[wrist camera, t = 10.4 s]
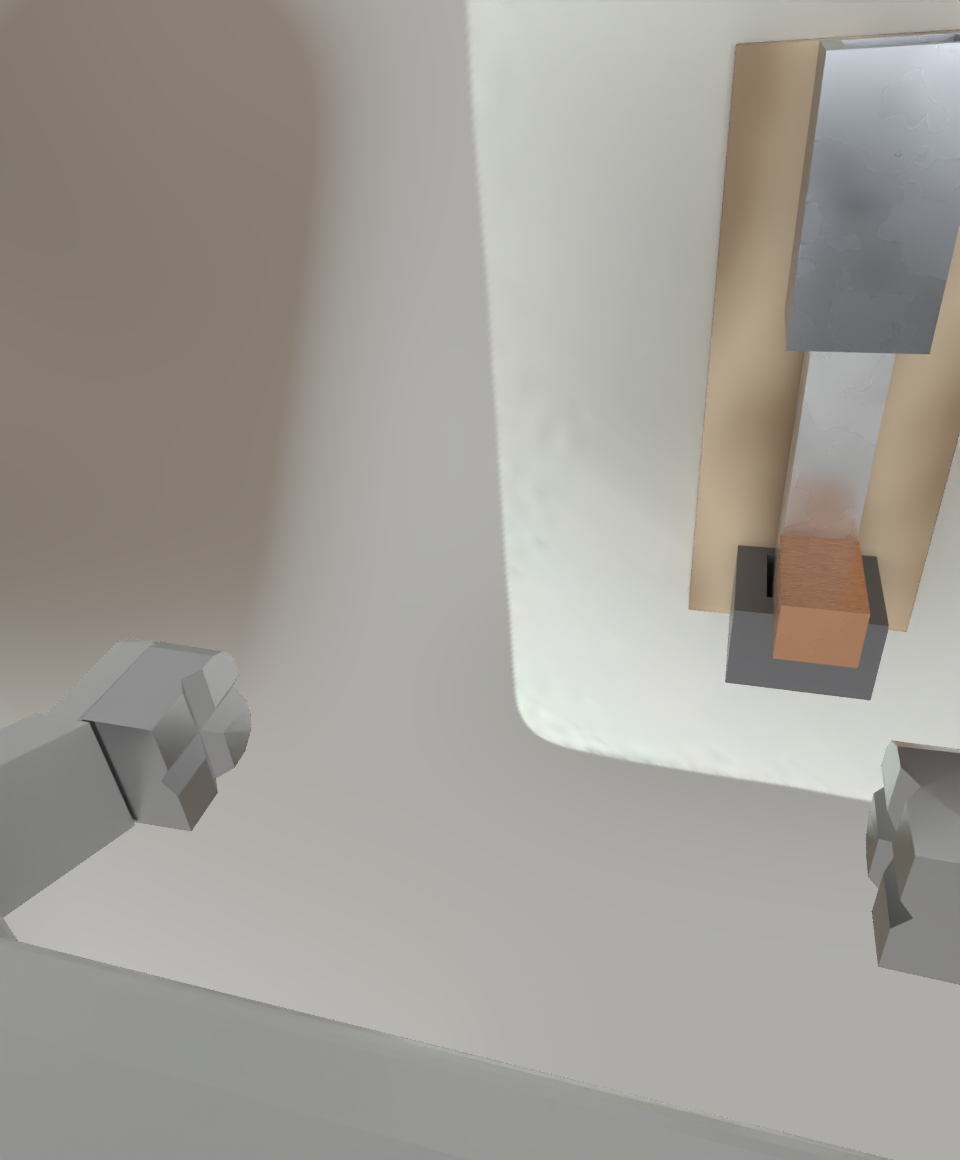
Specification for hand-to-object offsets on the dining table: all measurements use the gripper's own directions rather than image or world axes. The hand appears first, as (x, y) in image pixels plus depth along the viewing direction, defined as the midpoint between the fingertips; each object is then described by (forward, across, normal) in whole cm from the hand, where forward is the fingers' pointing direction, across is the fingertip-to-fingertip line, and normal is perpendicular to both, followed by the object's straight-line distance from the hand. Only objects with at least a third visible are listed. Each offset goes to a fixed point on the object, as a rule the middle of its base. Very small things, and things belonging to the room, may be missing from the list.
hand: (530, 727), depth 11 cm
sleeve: (+28, -6, -1) cm, 29 cm away
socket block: (+28, -6, +16) cm, 33 cm away
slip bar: (+27, -6, +10) cm, 29 cm away
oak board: (+29, -6, +6) cm, 30 cm away
